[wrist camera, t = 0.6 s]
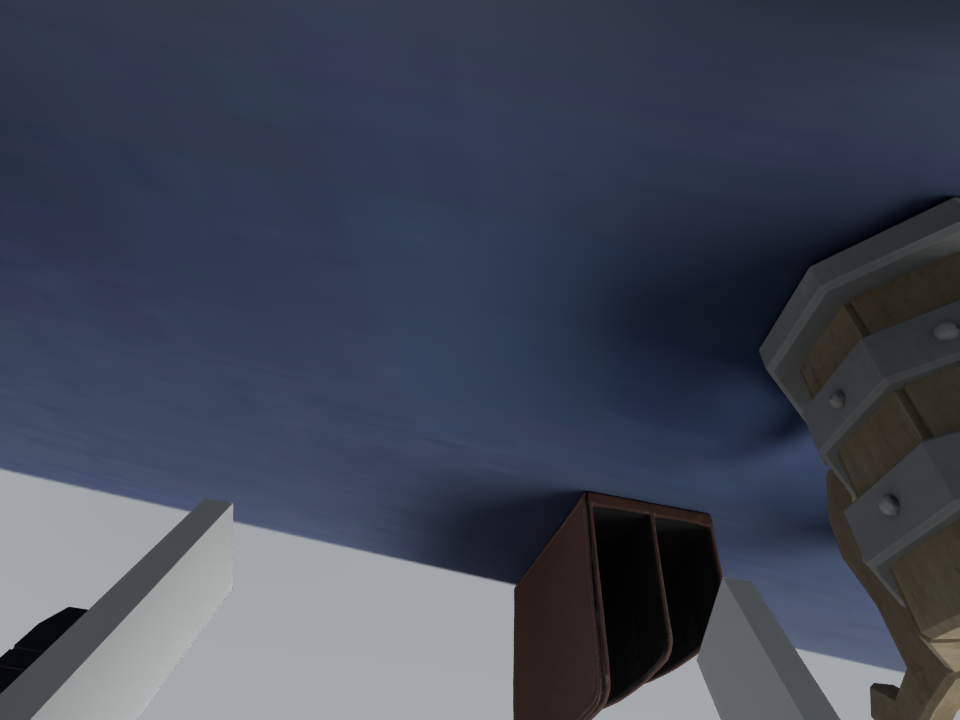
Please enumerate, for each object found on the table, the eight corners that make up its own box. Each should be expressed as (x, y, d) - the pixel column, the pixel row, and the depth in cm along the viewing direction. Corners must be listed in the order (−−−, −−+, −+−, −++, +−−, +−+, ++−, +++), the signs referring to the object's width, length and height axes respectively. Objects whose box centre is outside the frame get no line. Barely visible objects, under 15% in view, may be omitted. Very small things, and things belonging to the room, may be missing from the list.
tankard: (853, 186, 21) (1156, 562, 11) (1184, 213, 21) (1827, 628, 10) (686, 464, 35) (745, 737, 25) (879, 482, 35) (1019, 767, 25)
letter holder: (513, 585, 53) (507, 761, 43) (583, 486, 39) (597, 716, 29) (609, 601, 54) (623, 777, 44) (712, 511, 40) (766, 740, 30)
